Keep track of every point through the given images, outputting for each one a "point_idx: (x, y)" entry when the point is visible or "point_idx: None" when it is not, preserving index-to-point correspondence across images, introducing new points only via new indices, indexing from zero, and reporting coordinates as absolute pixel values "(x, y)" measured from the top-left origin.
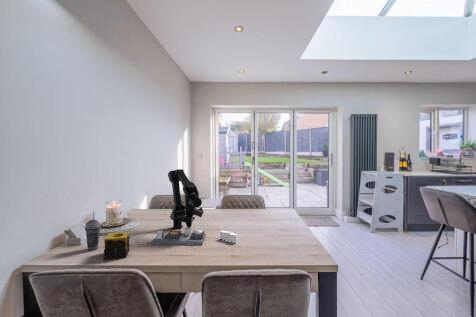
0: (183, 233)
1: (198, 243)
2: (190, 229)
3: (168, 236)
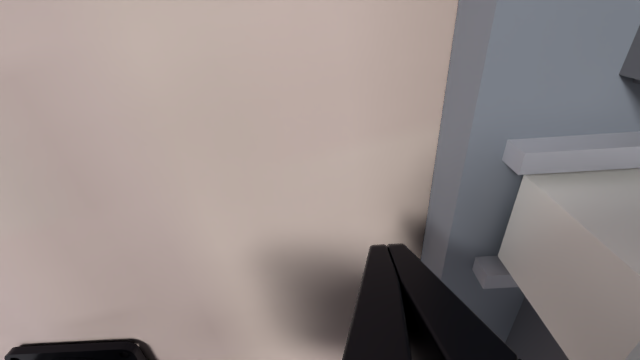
0: (448, 284)
1: None
2: (622, 245)
3: None
